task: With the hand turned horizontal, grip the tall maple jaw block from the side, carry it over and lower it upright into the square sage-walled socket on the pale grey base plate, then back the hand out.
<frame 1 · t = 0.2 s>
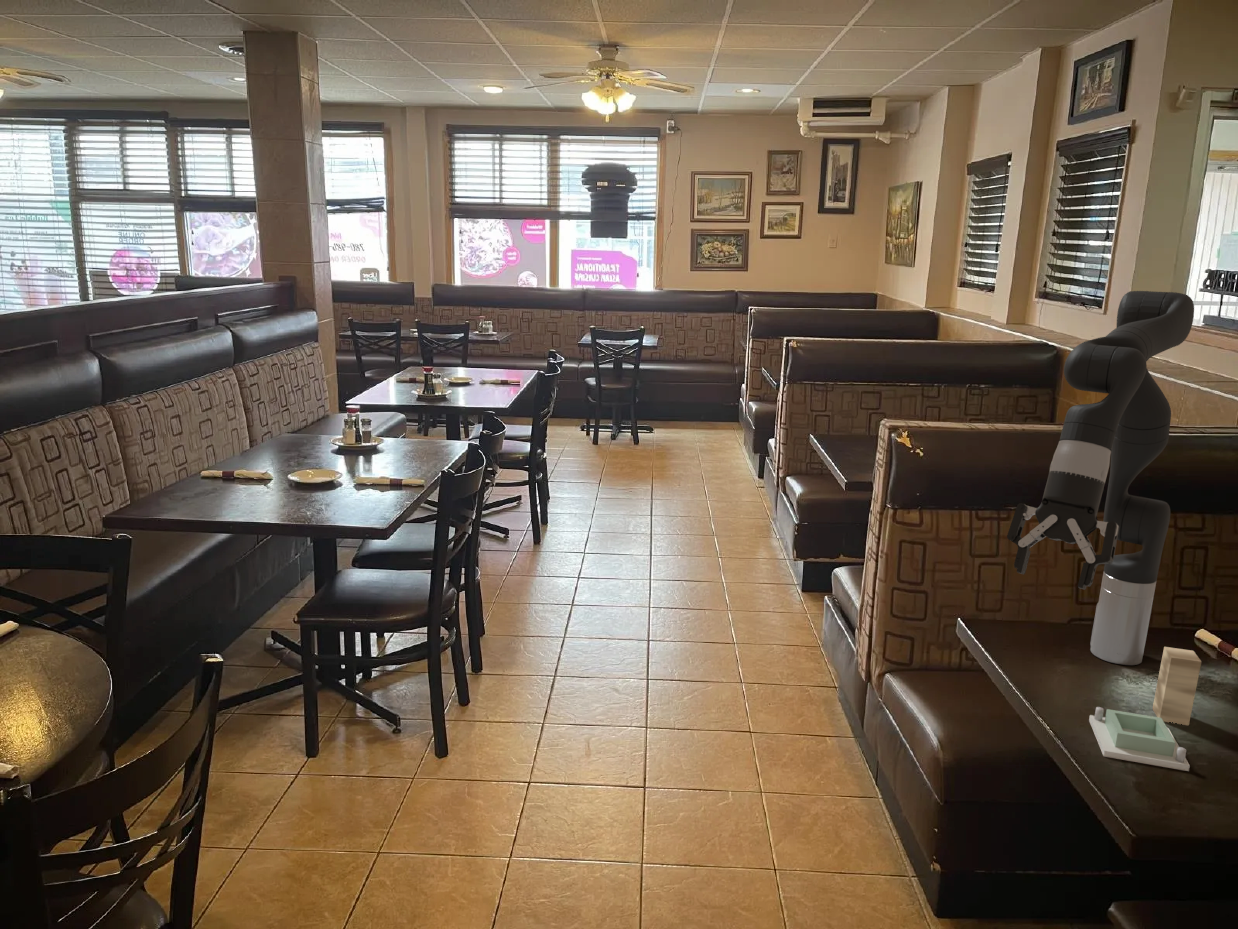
hand: (1050, 580, 130), 31 cm above the table, tool tilted 20°, fingers open, 8 cm apart
socket plate: (1136, 744, 145), on the table
maple jaw block: (1170, 717, 154), on the table
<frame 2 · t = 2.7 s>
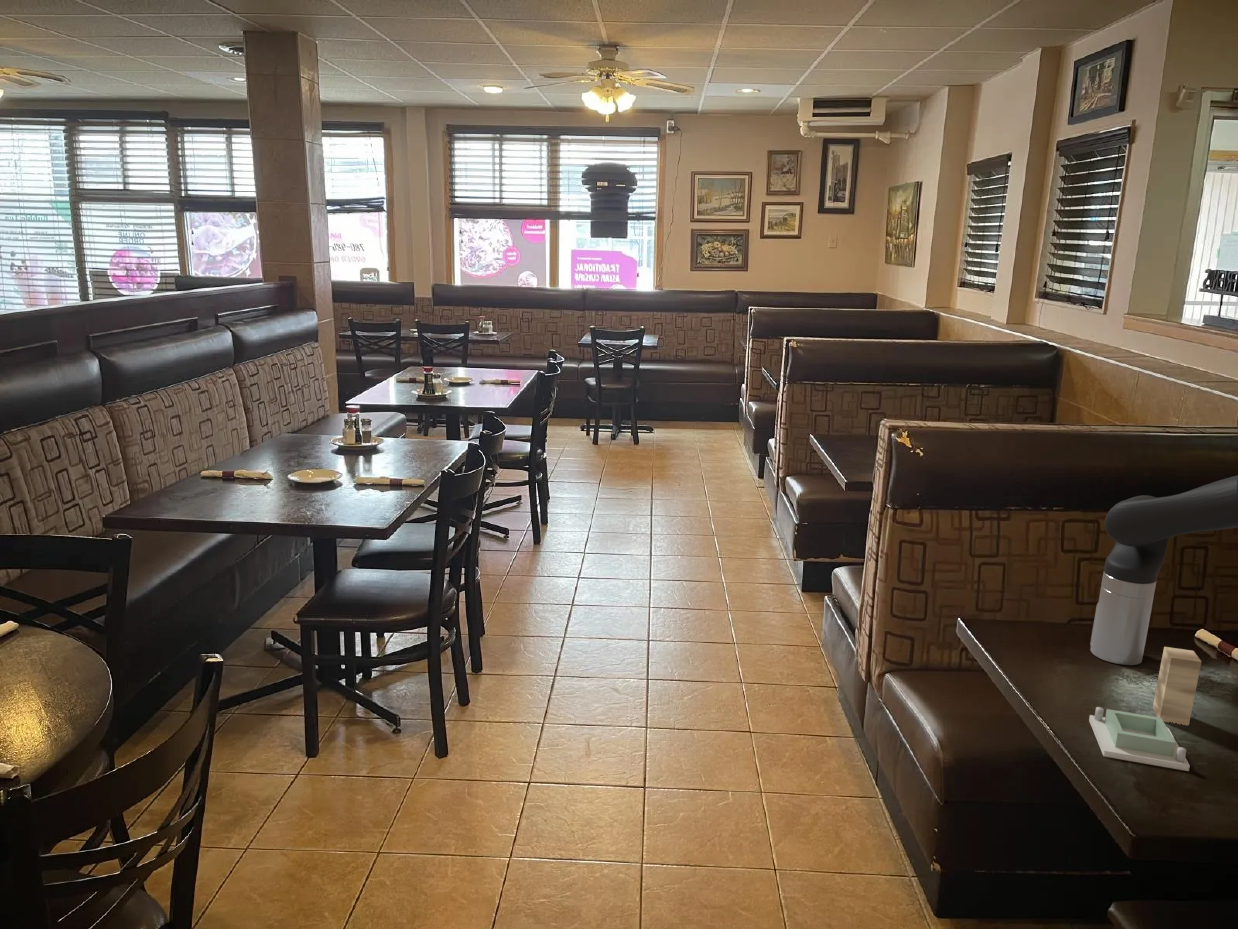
nothing on the table moved.
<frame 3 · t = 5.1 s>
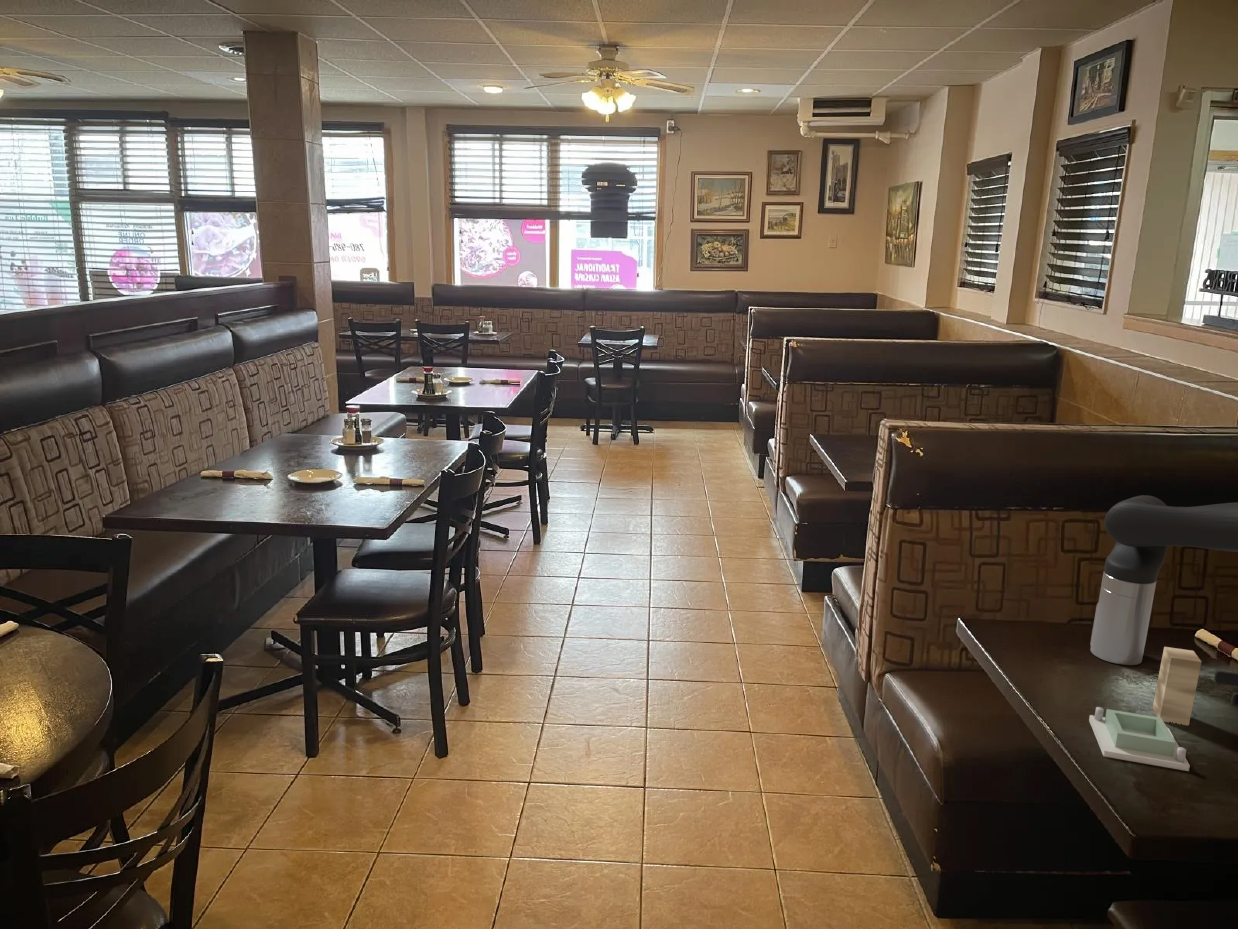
hand: (1223, 687, 150), 7 cm above the table, tool horizontal, fingers open, 8 cm apart
nothing on the table moved.
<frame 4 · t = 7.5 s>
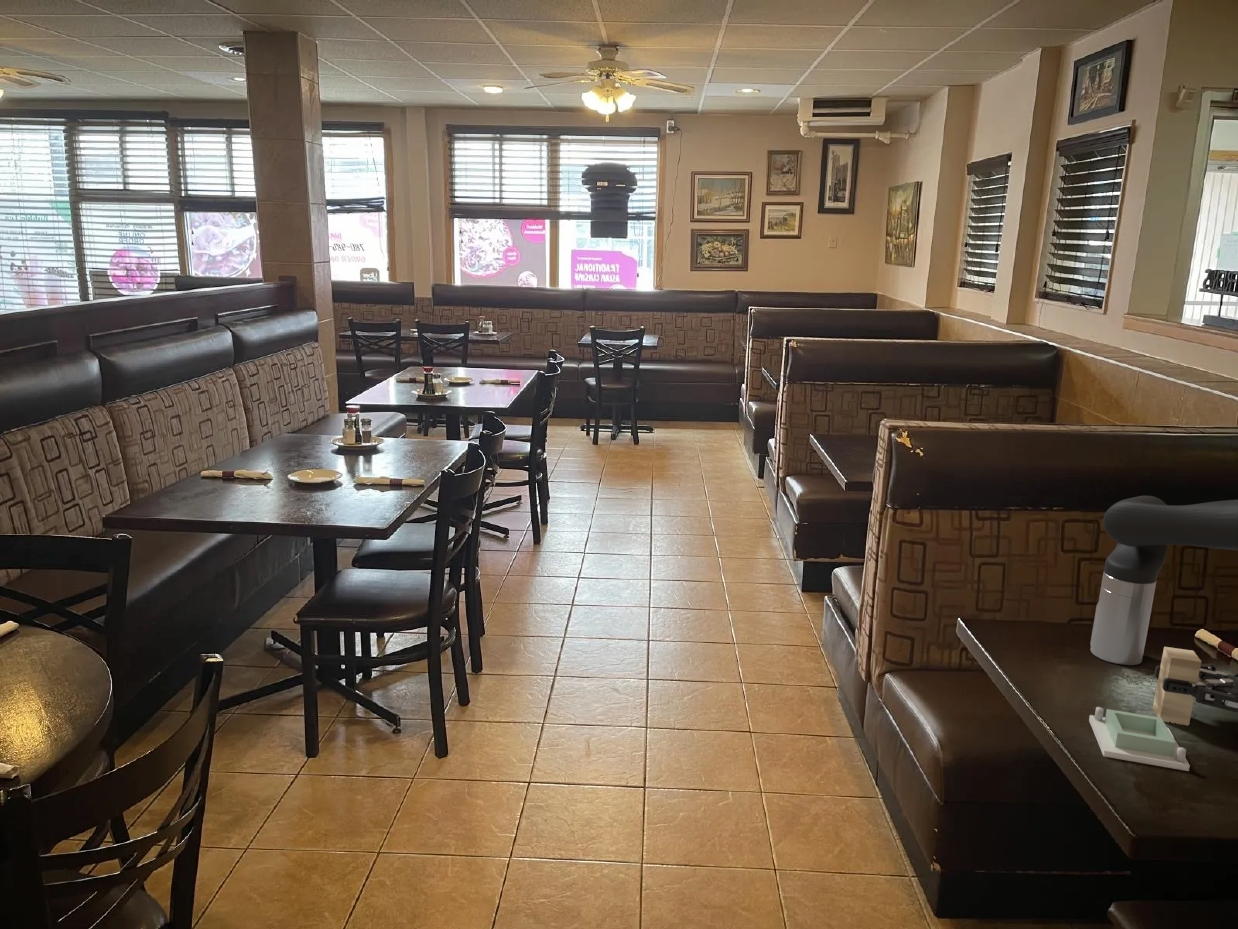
hand: (1160, 677, 153), 7 cm above the table, tool horizontal, fingers closed on maple jaw block, 4 cm apart
maple jaw block: (1170, 717, 154), on the table, touching gripper
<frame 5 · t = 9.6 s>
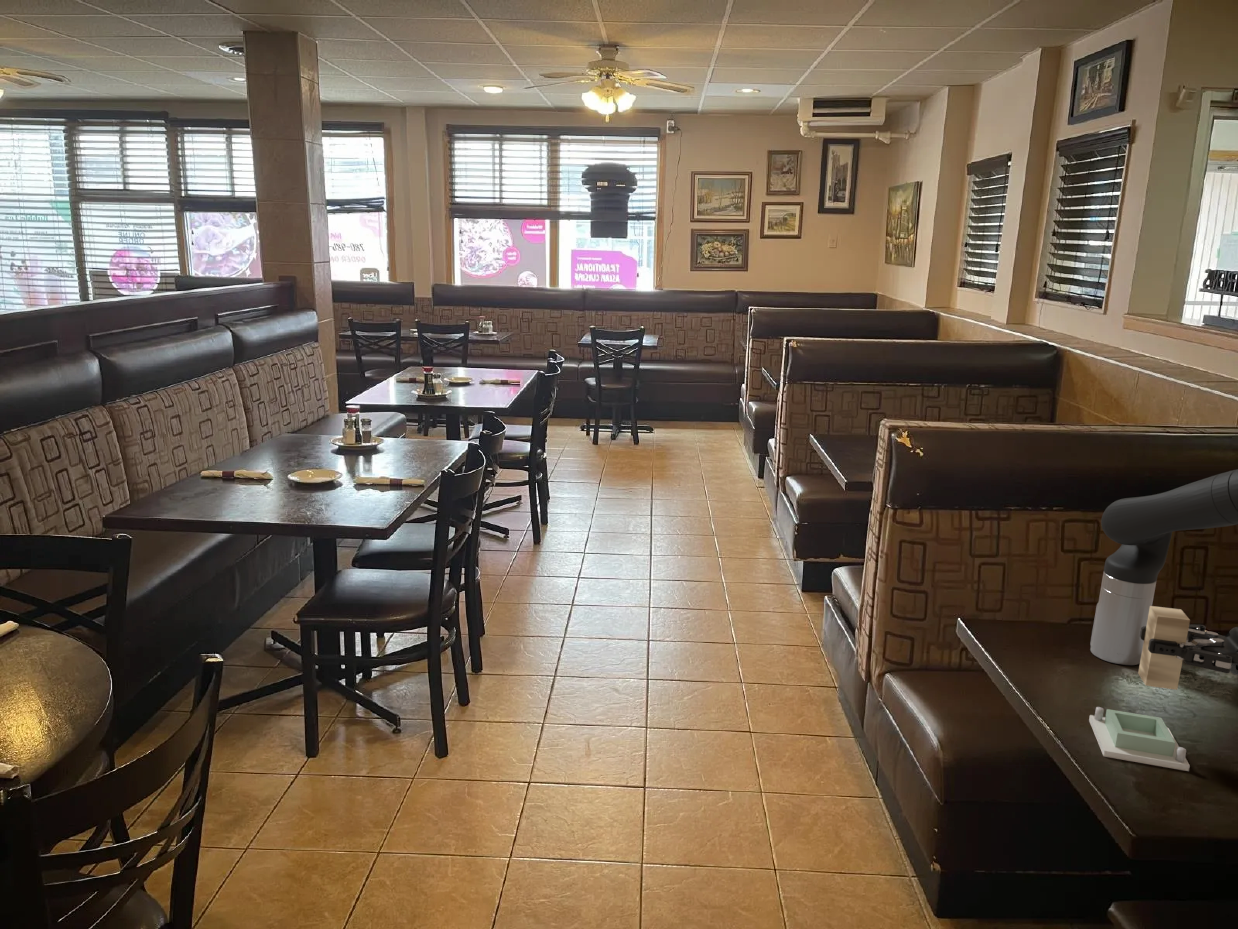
hand: (1145, 639, 142), 18 cm above the table, tool horizontal, fingers closed on maple jaw block, 4 cm apart
maple jaw block: (1157, 681, 143), point 11 cm above the table, touching gripper
when the fingers open (9 cm above the table, at t = 12.2 s): maple jaw block drops 1 cm, resting on socket plate.
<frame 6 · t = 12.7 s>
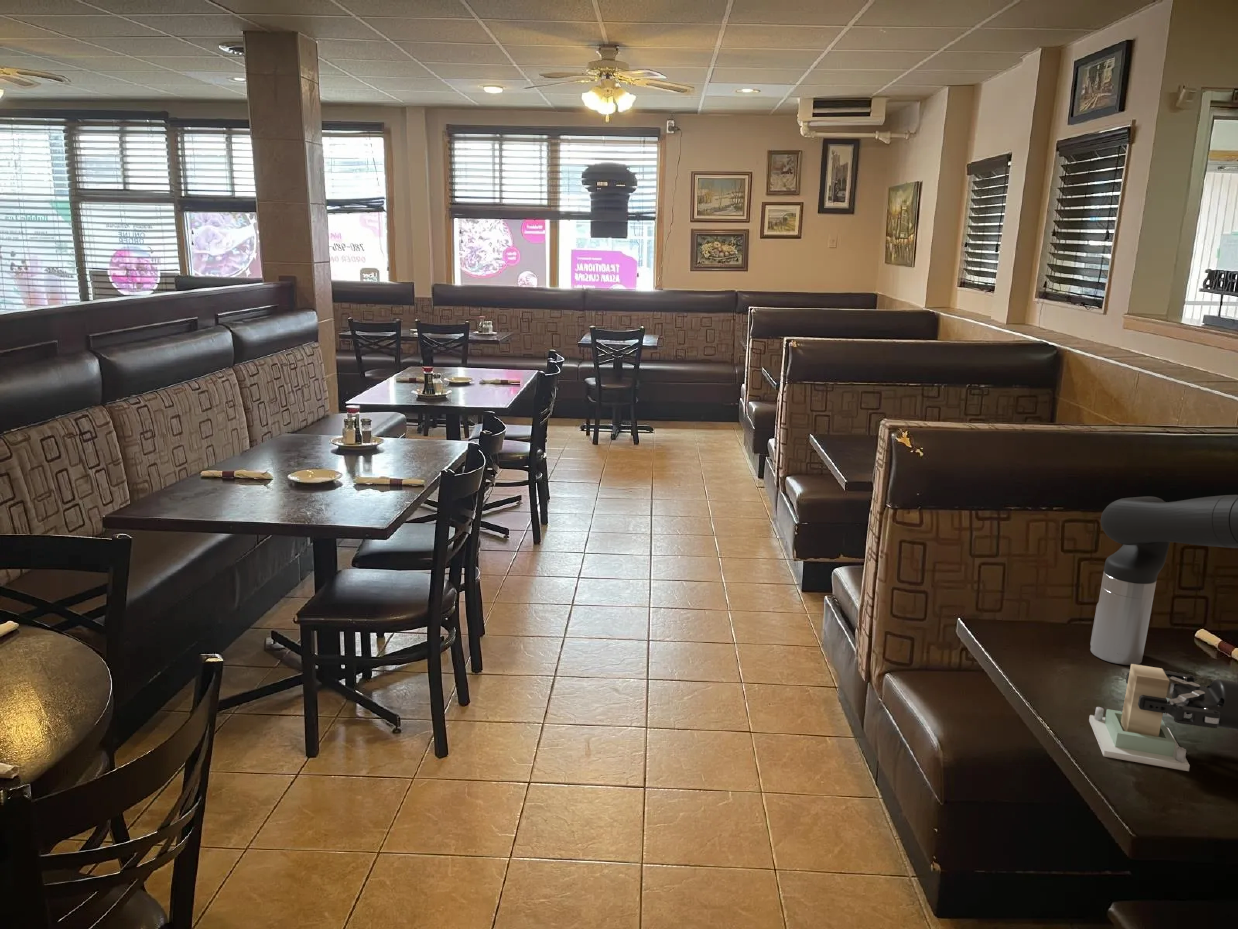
hand: (1132, 689, 143), 10 cm above the table, tool horizontal, fingers open, 8 cm apart
maple jaw block: (1137, 738, 145), point 1 cm above the table, touching socket plate
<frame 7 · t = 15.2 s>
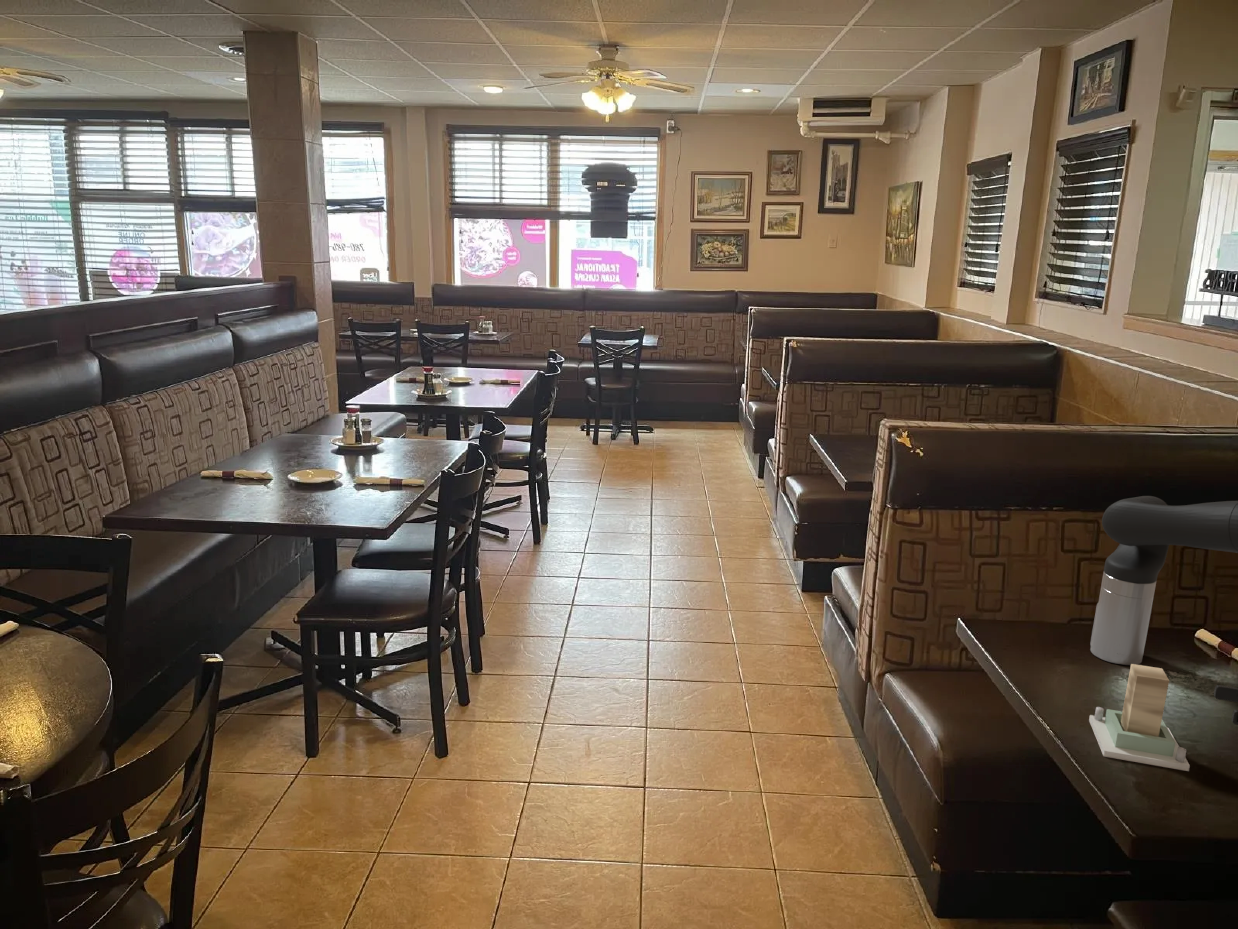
hand: (1223, 703, 139), 10 cm above the table, tool horizontal, fingers open, 8 cm apart
nothing on the table moved.
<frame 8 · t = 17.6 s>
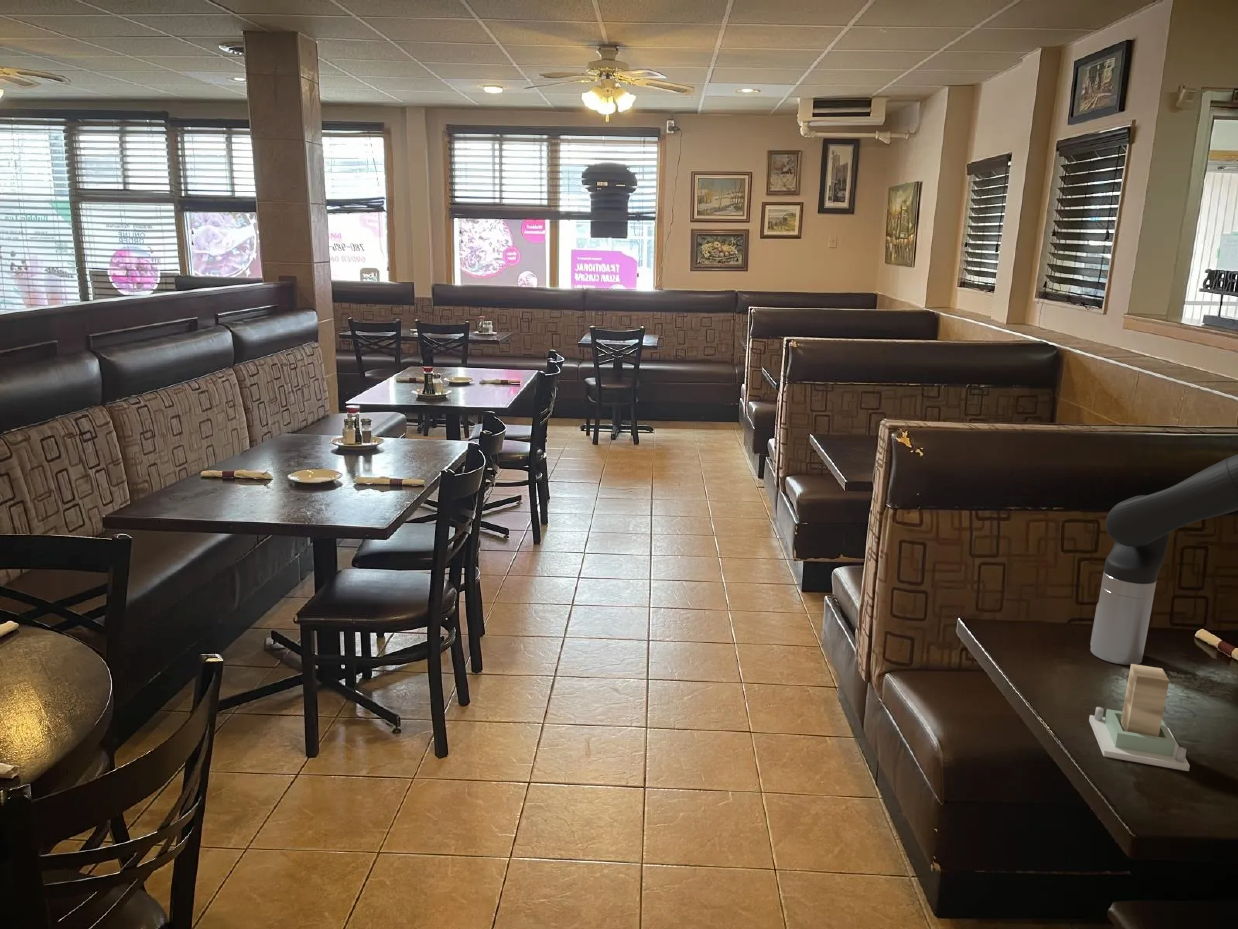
nothing on the table moved.
at the end: maple jaw block 0.0 cm off-centre on the socket plate, point 1.0 cm above the socket plate's base; maple jaw block tilted 0°; the gripper is holding nothing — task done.
